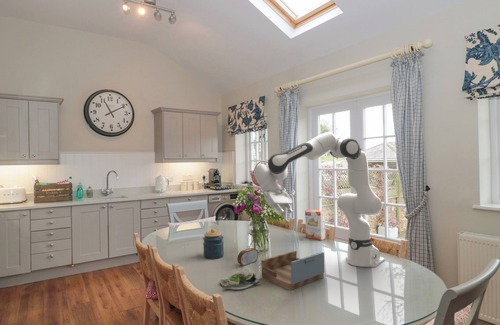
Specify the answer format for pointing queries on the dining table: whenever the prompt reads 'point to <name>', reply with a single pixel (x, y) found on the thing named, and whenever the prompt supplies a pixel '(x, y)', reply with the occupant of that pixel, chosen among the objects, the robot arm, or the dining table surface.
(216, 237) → the canister
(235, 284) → the salad plate
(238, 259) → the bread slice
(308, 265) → the panel
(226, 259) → the dining table surface
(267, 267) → the wooden tray box
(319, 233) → the cracker box
